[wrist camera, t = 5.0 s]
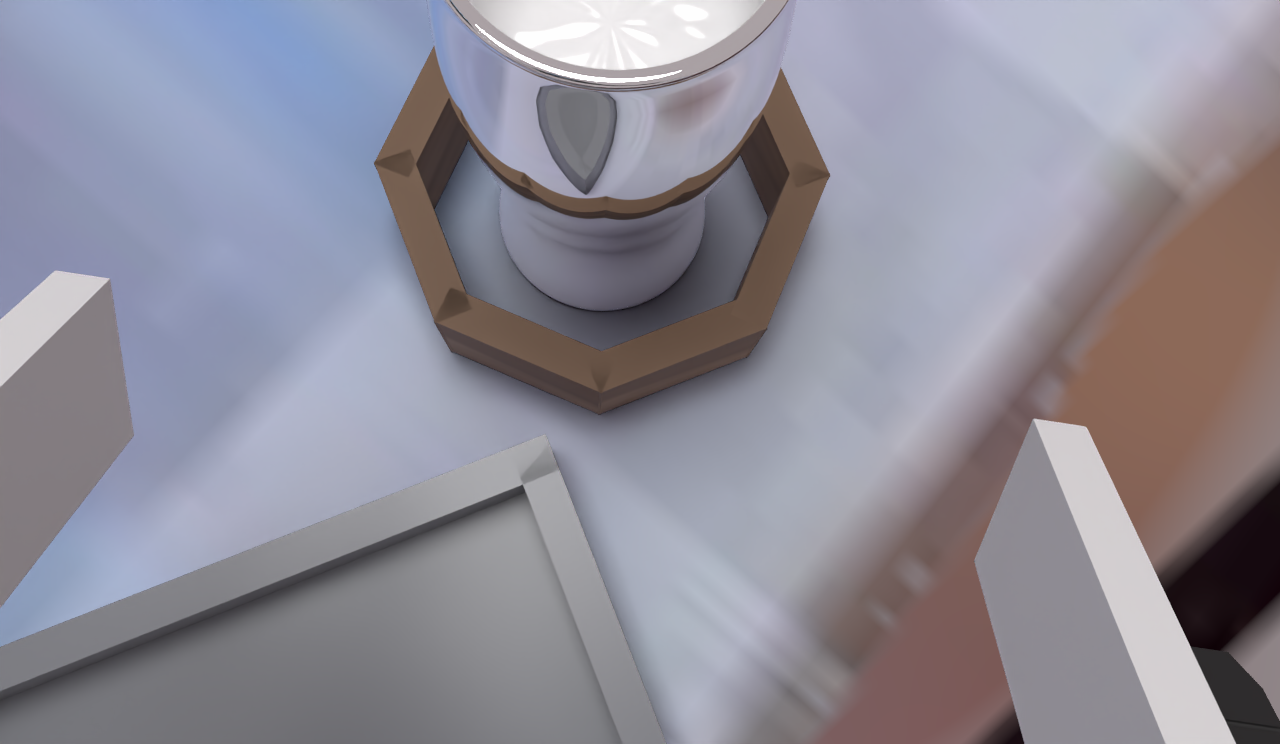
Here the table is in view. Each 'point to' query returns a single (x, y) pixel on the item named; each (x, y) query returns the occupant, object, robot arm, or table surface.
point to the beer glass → (607, 126)
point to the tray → (358, 634)
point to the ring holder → (554, 361)
